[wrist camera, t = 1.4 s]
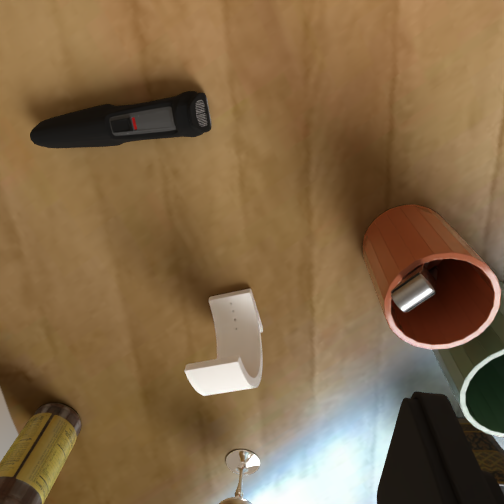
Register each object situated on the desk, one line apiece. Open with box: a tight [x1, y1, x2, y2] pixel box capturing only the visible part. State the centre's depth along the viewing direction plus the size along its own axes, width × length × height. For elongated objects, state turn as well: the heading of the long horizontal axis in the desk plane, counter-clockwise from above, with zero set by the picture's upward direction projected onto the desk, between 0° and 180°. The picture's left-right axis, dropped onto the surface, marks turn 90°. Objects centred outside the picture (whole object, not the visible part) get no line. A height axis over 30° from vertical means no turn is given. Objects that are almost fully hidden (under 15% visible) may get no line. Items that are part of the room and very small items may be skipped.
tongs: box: [391, 262, 439, 312], centre depth 33 cm, size 2×10×18 cm, turn 44°
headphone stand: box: [185, 288, 263, 396], centre depth 41 cm, size 5×6×12 cm
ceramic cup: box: [458, 418, 504, 494], centre depth 46 cm, size 13×10×10 cm
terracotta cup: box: [362, 205, 501, 350], centre depth 37 cm, size 8×8×11 cm
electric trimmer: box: [30, 91, 212, 148], centre depth 38 cm, size 4×16×3 cm, turn 97°
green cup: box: [432, 281, 504, 438], centre depth 39 cm, size 10×10×11 cm
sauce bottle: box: [0, 403, 81, 504], centre depth 46 cm, size 6×6×20 cm
